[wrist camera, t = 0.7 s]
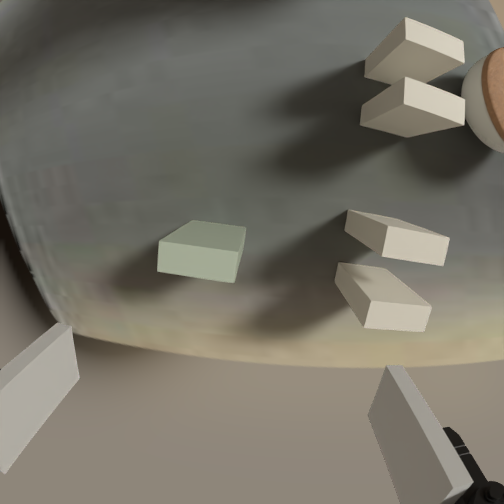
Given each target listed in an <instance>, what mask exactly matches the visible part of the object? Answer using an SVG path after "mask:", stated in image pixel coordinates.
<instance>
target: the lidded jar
mask: <svg viewBox="0 0 504 504" xmlns="http://www.w3.org/2000/svg"><path fill="white" fill-rule="evenodd" d="M461 98H463V99H465V118H466V121H467V122H468V124H469V126H470V128H471V129H472V131H473V132H474V133H475V135H476V136H477V137H478V138H479V139H480V140H481V141H482V142H483V143H484V144H485V145H487V146H488V147H490V148H491V149H493V150H495V151H497V152H500V153H503V154H504V47H503V48H499V49H496V50H494V51H493V52H491V53H490V54H488V55H487V56H485V57H483V58H481V59H480V60H478V61H477V62H476V63H475V64H474V65H473V66H472V67H471V68H470V69H469V70H468V72H467V74H466V76H465V78H464V81H463V84H462V90H461Z"/></svg>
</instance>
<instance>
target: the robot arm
mask: <svg viewBox="0 0 504 504" xmlns="http://www.w3.org/2000/svg"><path fill="white" fill-rule="evenodd" d="M78 379H80V376H79V371H78V366H77V360H76V354H75V348H74V342H73V336H72V328H71V326H69V325H65V324H61V323H56V324H55V325H54V326H53V327H52V328H50V329H49V330H48V331H47V332H45V333H44V334H43V335H42V336H40V337H39V338H38V339H37V340H35V341H34V342H33V343H32V344H31V345H29V346H28V347H27V348H26V349H25V350H24V351H22V352H21V353H20V354H19V355H18V356H17V357H15V358H14V359H13V360H12V361H10V362H9V363H8V364H7V365H6V366H5V367H3V368H2V369H0V471H1V472H3V473H4V474H6V472H7V471H8V469H9V468H10V467H11V465H12V464H13V463H14V461H15V460H16V459H17V457H18V456H19V455H20V453H21V452H22V451H23V449H24V448H25V447H26V445H27V444H28V443H29V441H30V440H31V439H32V437H33V436H34V435H35V434H36V432H37V431H38V430H39V428H40V427H41V426H42V425H43V423H44V422H45V421H46V419H47V418H48V417H49V415H50V414H51V413H52V412H53V411H54V409H55V408H56V407H57V406H58V404H59V403H60V402H61V400H62V399H63V398H64V397H65V396H66V394H67V393H68V392H69V391H70V389H71V388H72V387H73V386H74V384H75V383H76V382H77V381H78ZM368 417H369V420H370V423H371V425H372V428H373V430H374V433H375V436H376V438H377V441H378V444H379V446H380V449H381V452H382V454H383V457H384V460H385V462H386V465H387V468H388V471H389V473H390V476H391V479H392V482H393V485H394V488H395V490H396V493H397V496H398V499H399V502H400V504H504V486H503V485H502V484H500V483H498V482H494V481H489V482H488V481H487V480H486V478H485V476H484V475H483V473H482V471H481V470H480V468H479V466H478V465H477V463H476V461H475V460H474V458H473V456H472V455H471V454H469V450H468V448H467V447H466V446H465V444H464V442H463V440H462V439H461V437H460V436H459V435H458V434H457V433H456V432H455V431H454V430H452V429H451V428H450V427H445V428H442V427H441V425H440V424H439V422H438V421H437V419H436V417H435V416H434V414H433V412H432V411H431V409H430V408H429V406H428V404H427V403H426V401H425V400H424V398H423V396H422V395H421V393H420V392H419V390H418V389H417V387H416V386H415V384H414V383H413V381H412V380H411V378H410V376H409V375H408V373H407V372H406V370H405V369H404V367H403V366H402V365H386V367H385V370H384V373H383V377H382V379H381V382H380V384H379V387H378V390H377V393H376V395H375V398H374V400H373V403H372V405H371V408H370V410H369V413H368Z"/></svg>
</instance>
